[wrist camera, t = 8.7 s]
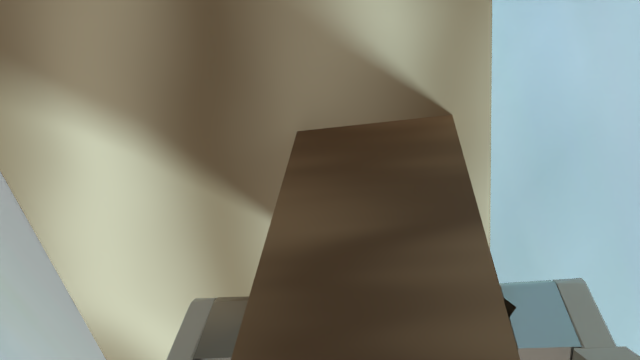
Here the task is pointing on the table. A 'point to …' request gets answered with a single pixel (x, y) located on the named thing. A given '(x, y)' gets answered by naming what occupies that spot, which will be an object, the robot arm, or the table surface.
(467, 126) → the board
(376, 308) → the walnut block
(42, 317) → the table surface
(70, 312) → the table surface
